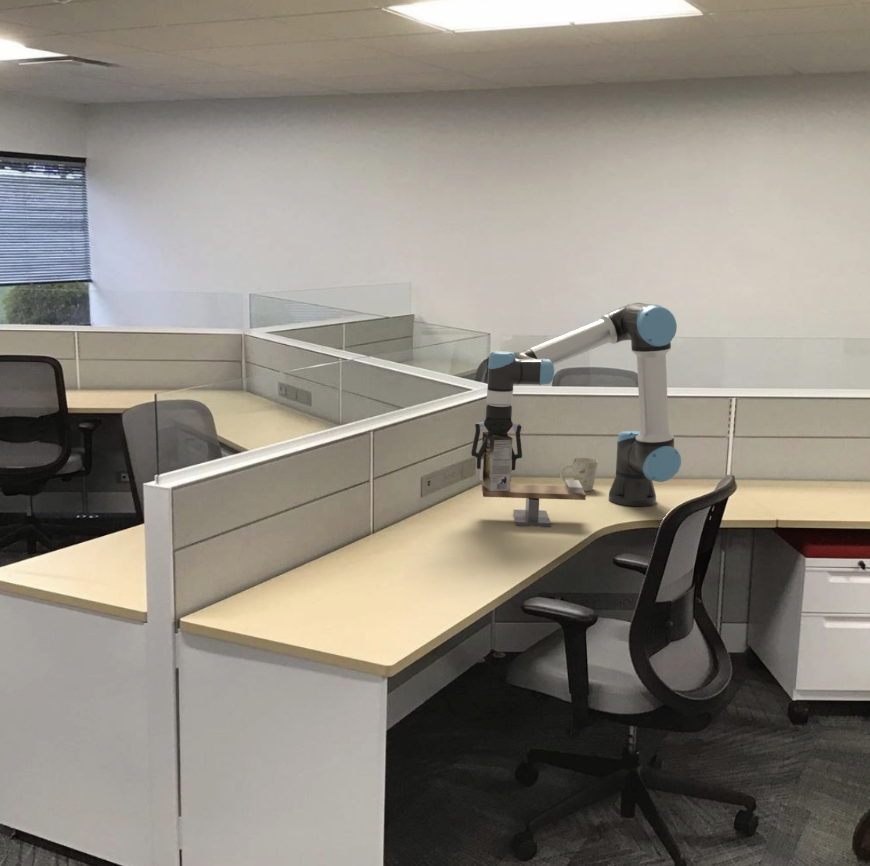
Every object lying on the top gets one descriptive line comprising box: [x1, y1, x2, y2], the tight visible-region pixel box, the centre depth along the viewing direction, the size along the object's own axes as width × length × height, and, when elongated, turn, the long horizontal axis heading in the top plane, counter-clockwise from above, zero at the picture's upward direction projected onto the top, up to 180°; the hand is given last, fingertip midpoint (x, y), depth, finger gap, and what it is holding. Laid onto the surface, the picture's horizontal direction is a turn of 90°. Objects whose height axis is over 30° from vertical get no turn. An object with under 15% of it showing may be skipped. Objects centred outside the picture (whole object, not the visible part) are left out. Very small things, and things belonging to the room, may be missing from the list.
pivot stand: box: [512, 498, 552, 528], centre depth 300 cm, size 10×14×8 cm
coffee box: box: [480, 431, 514, 491], centre depth 297 cm, size 9×6×16 cm
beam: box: [481, 479, 587, 501], centre depth 299 cm, size 30×10×4 cm, turn 89°
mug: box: [559, 457, 599, 492], centre depth 340 cm, size 8×13×10 cm, turn 89°
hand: (495, 480), depth 298 cm, fingers closed on coffee box, 8 cm apart
